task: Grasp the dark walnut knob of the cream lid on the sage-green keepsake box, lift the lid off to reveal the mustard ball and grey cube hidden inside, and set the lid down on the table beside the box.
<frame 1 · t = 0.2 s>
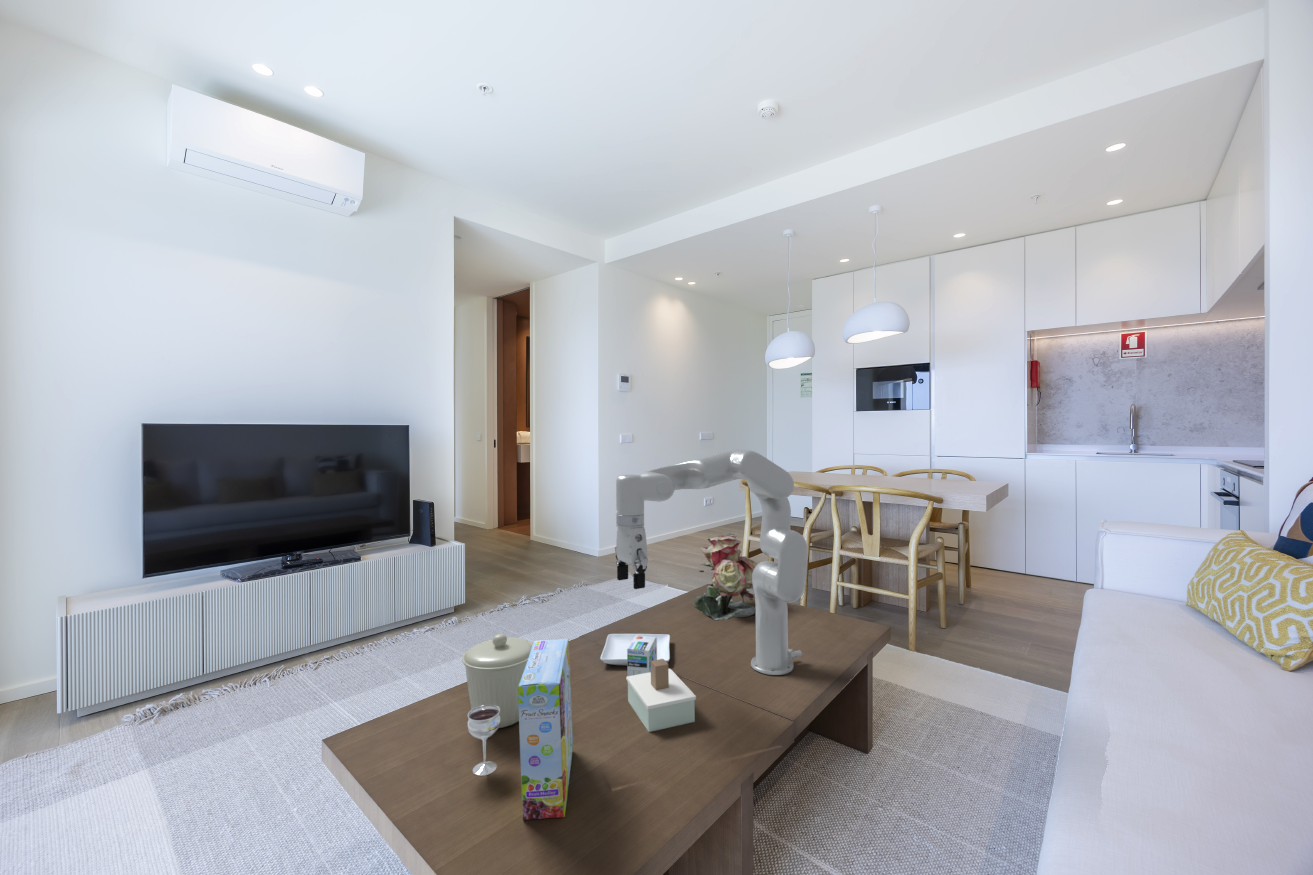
hand: (630, 583, 146), 31 cm above the table, fingers open, 9 cm apart
light bulb box: (642, 680, 156), on the table
salad plate: (637, 656, 173), on the table
grey cube: (654, 703, 141), resting on keepsake box
snack box: (549, 783, 110), on the table
keepsake box: (660, 712, 137), on the table
wineglass: (484, 768, 115), on the table
lid: (659, 688, 137), point 6 cm above the table, touching keepsake box
canister: (501, 718, 136), on the table
mustard ball: (665, 718, 133), resting on keepsake box
rose bouquet: (730, 609, 217), on the table
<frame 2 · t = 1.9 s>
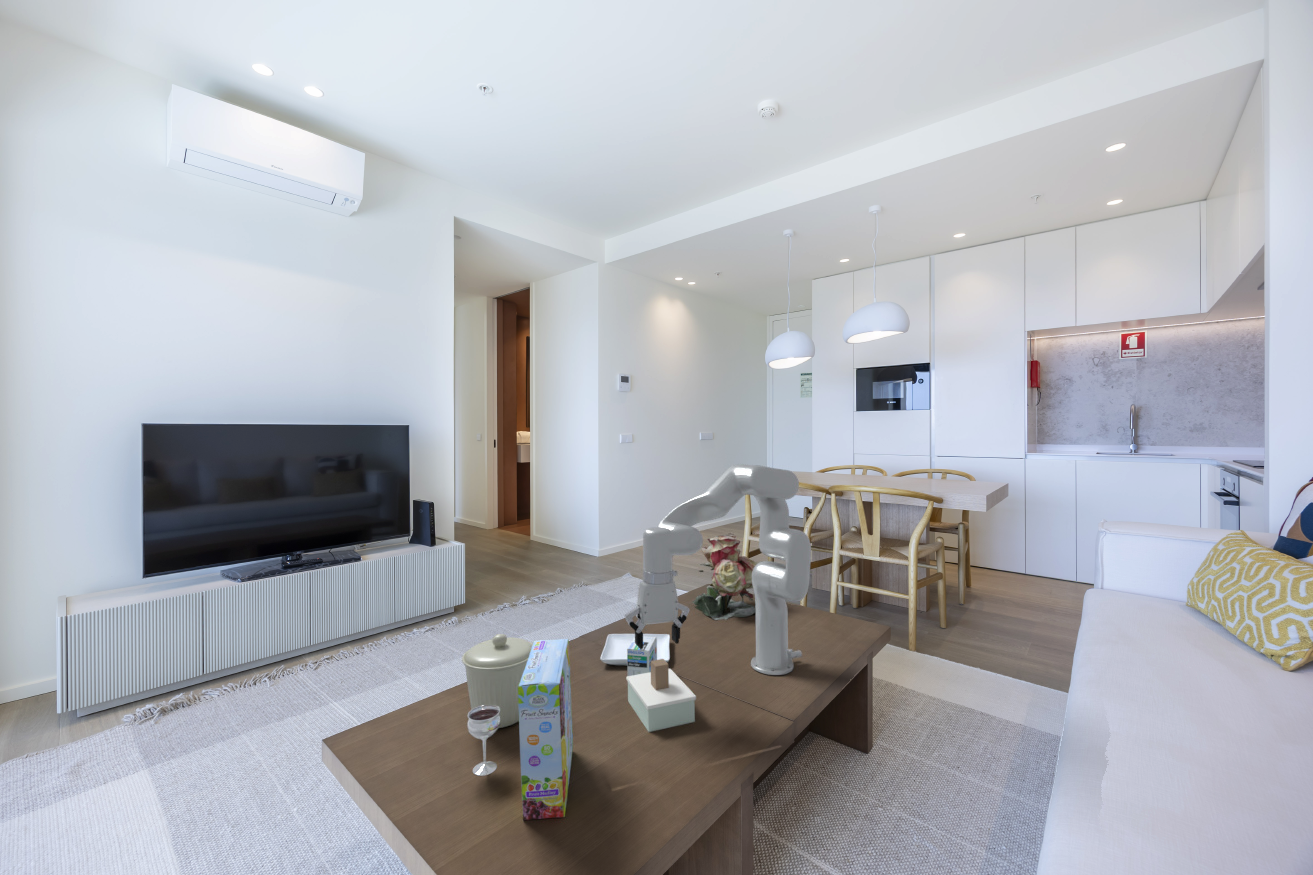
hand: (657, 644, 137), 18 cm above the table, fingers open, 9 cm apart
nothing on the table moved.
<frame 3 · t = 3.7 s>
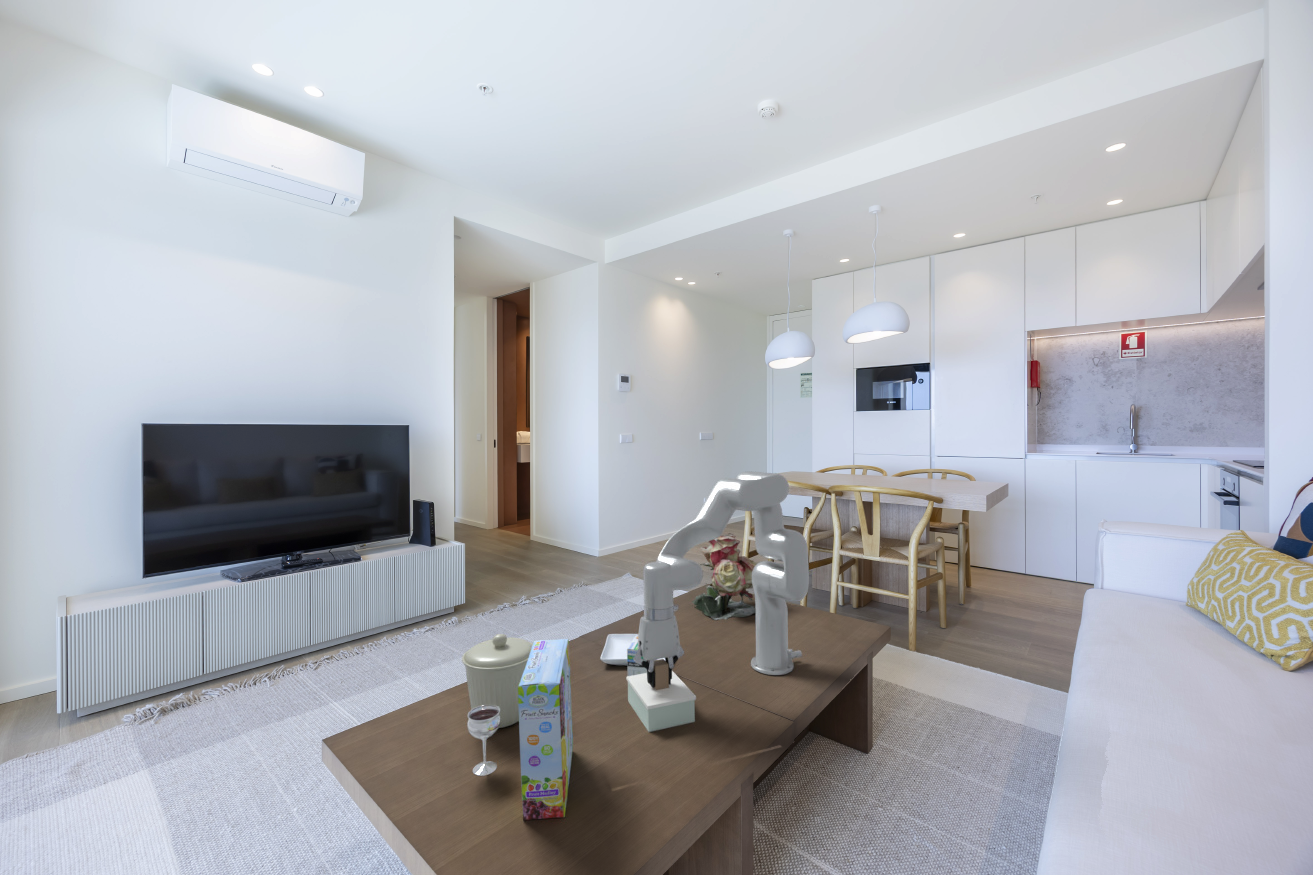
hand: (659, 682, 137), 8 cm above the table, fingers closed on lid, 3 cm apart
lid: (659, 688, 137), point 6 cm above the table, touching gripper, keepsake box
everything else where it was.
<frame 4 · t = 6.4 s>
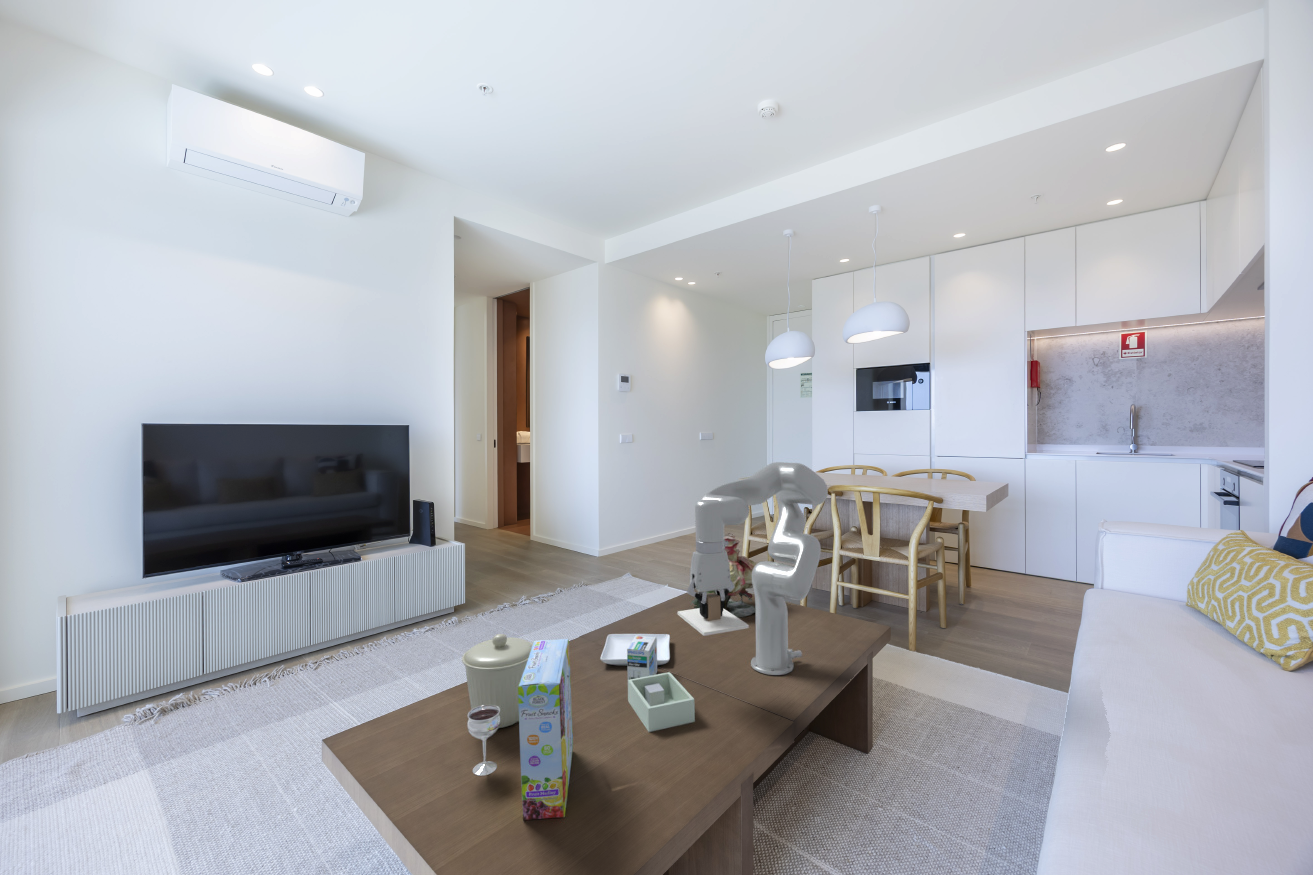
hand: (711, 615, 142), 23 cm above the table, fingers closed on lid, 3 cm apart
lid: (711, 620, 142), point 21 cm above the table, touching gripper
everything else where it was.
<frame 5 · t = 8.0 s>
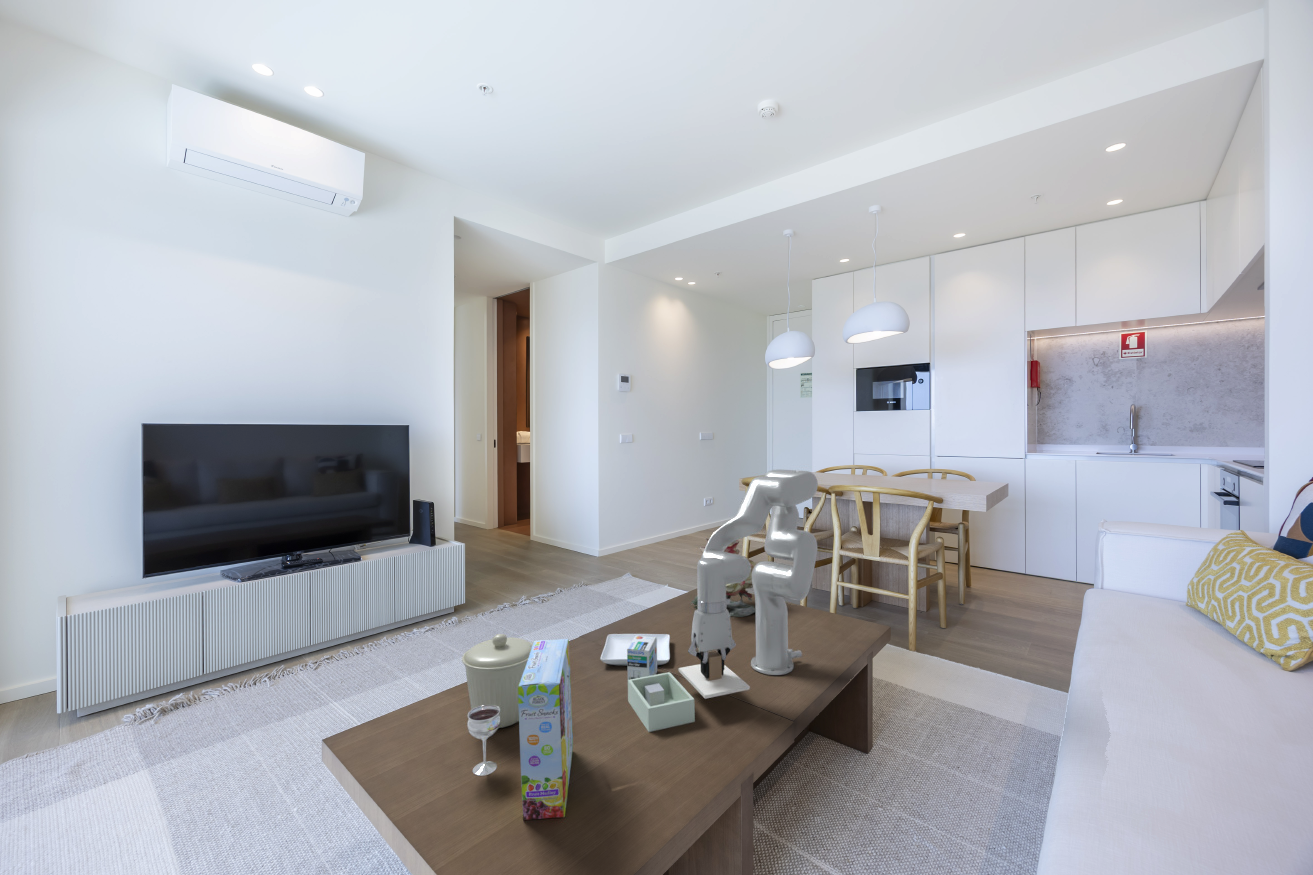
hand: (712, 673, 142), 7 cm above the table, fingers closed on lid, 3 cm apart
lid: (712, 679, 142), point 6 cm above the table, touching gripper
everything else where it was.
when the fingers open (3 cm above the table, at t = 9.2 s): lid drops 2 cm, on the table.
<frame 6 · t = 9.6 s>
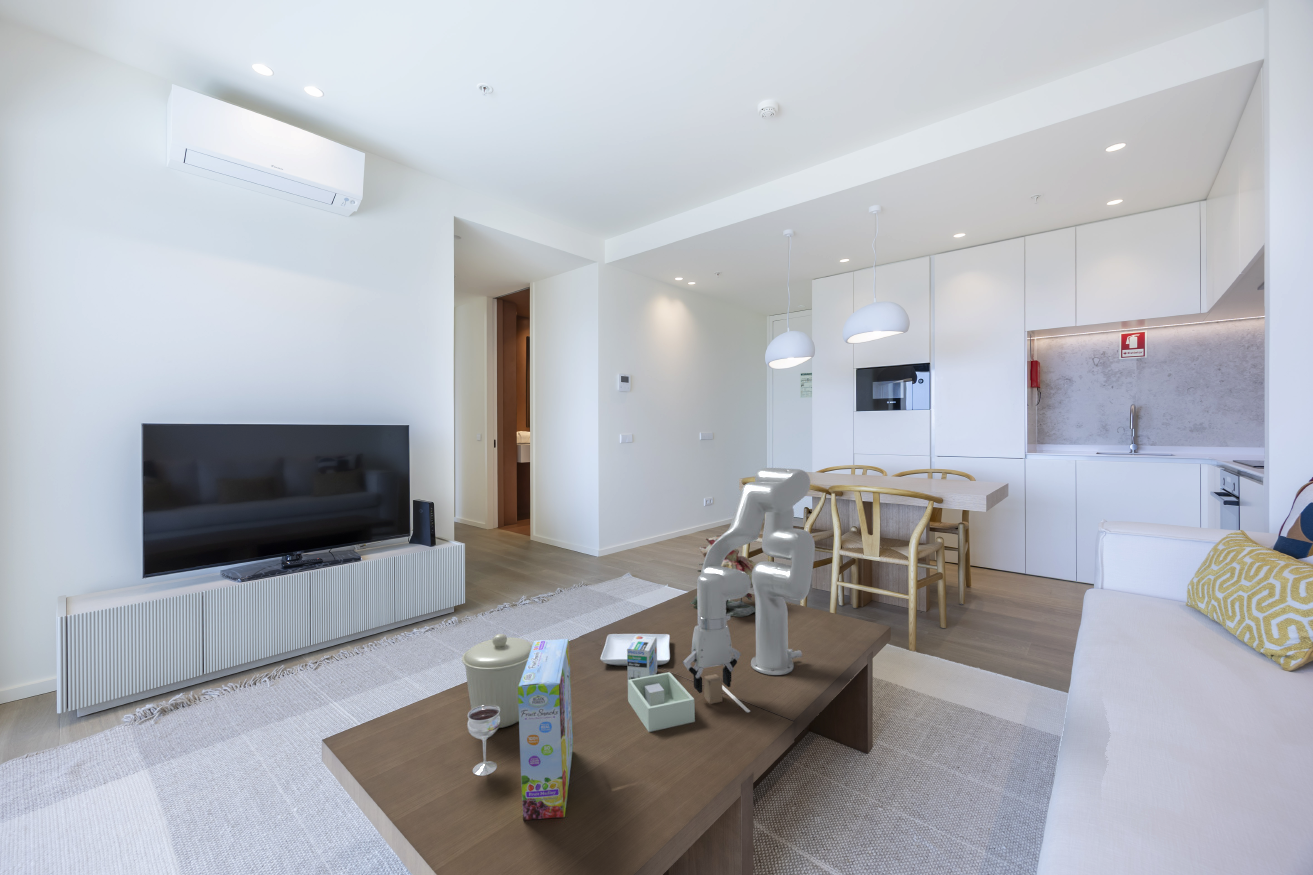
hand: (712, 687, 142), 4 cm above the table, fingers open, 7 cm apart
lid: (713, 703, 143), on the table
everything else where it was.
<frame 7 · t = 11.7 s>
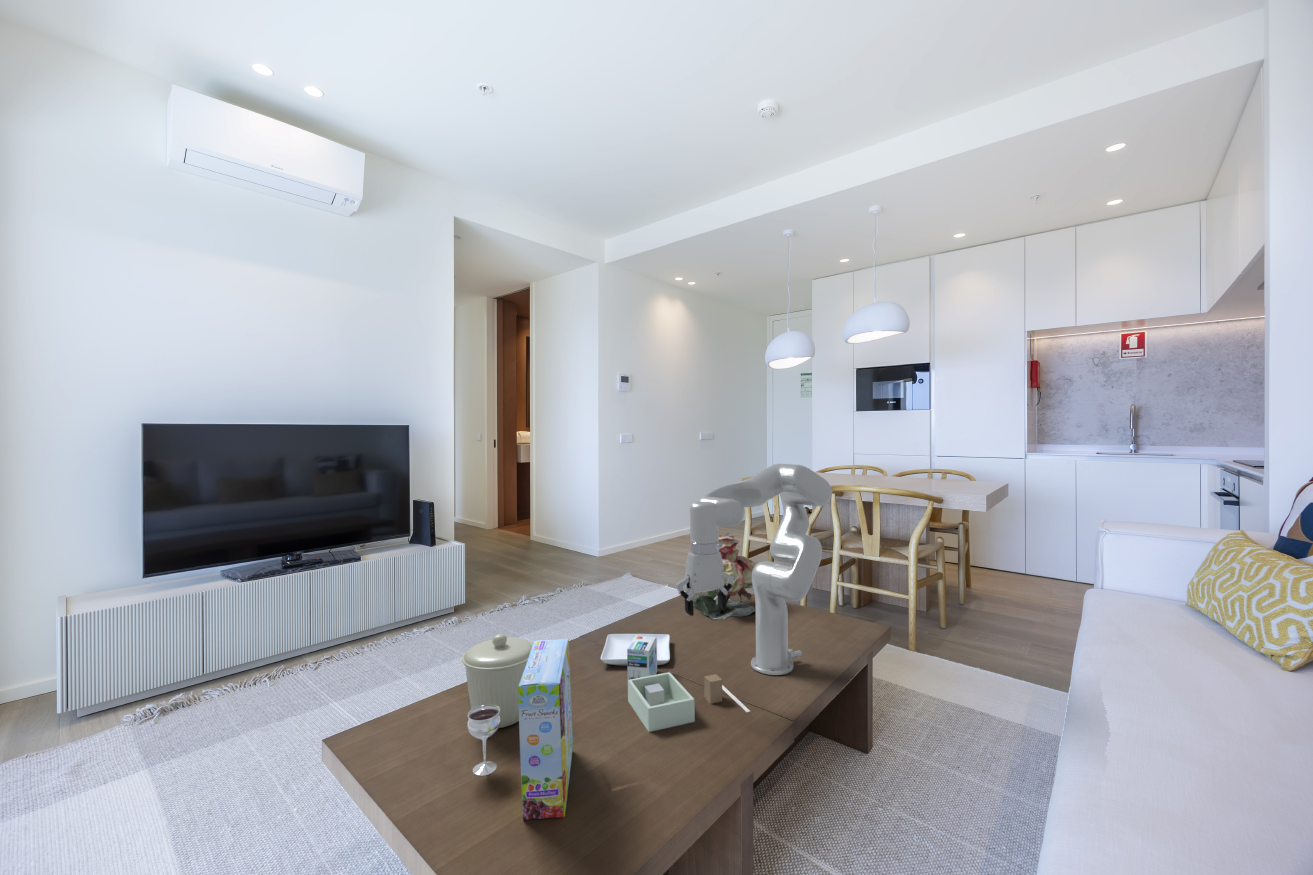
hand: (705, 611, 145), 23 cm above the table, fingers open, 9 cm apart
nothing on the table moved.
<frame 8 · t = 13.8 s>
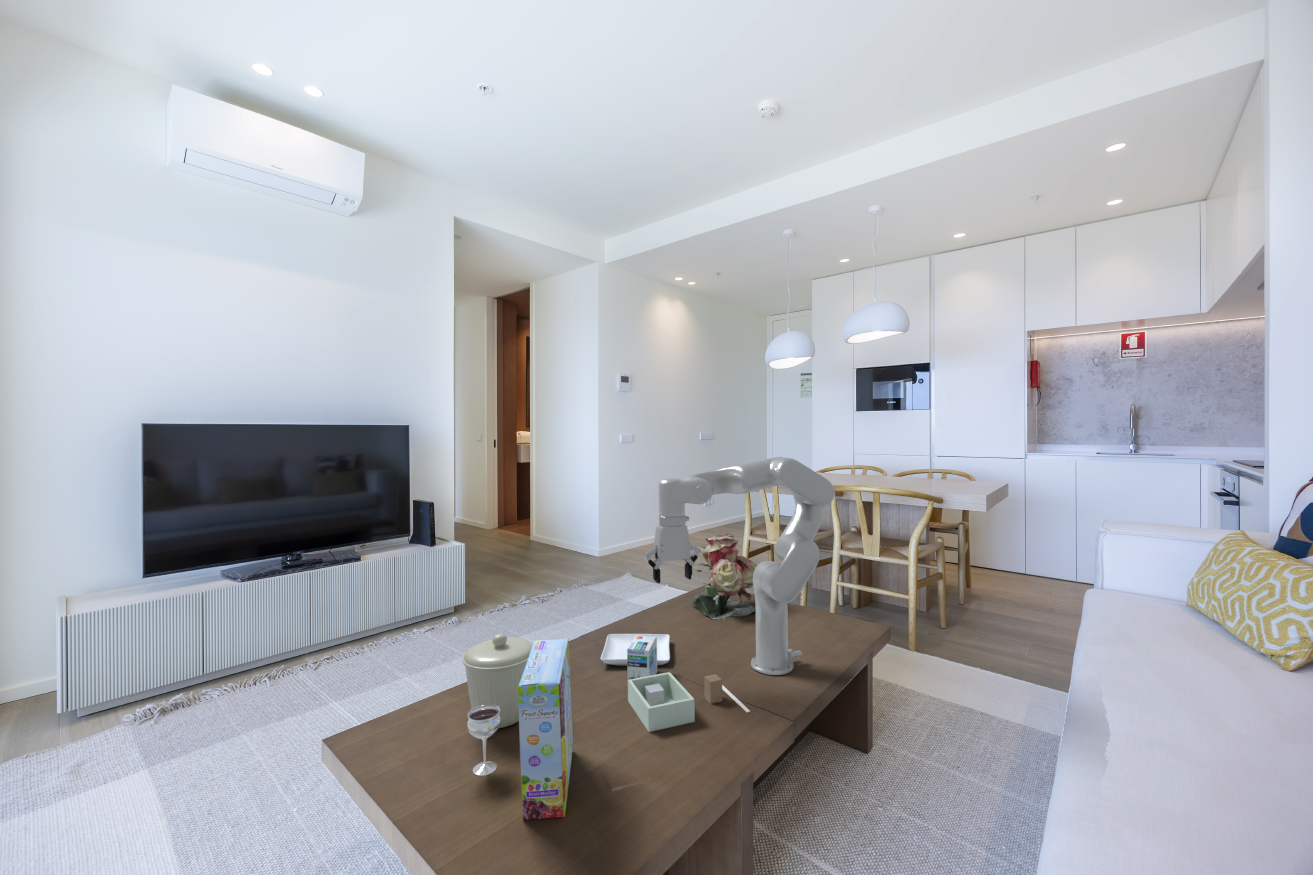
hand: (672, 580, 157), 28 cm above the table, fingers open, 9 cm apart
at the end: lid moved 16.5 cm from its start; lid on the table; lid touching table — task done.
